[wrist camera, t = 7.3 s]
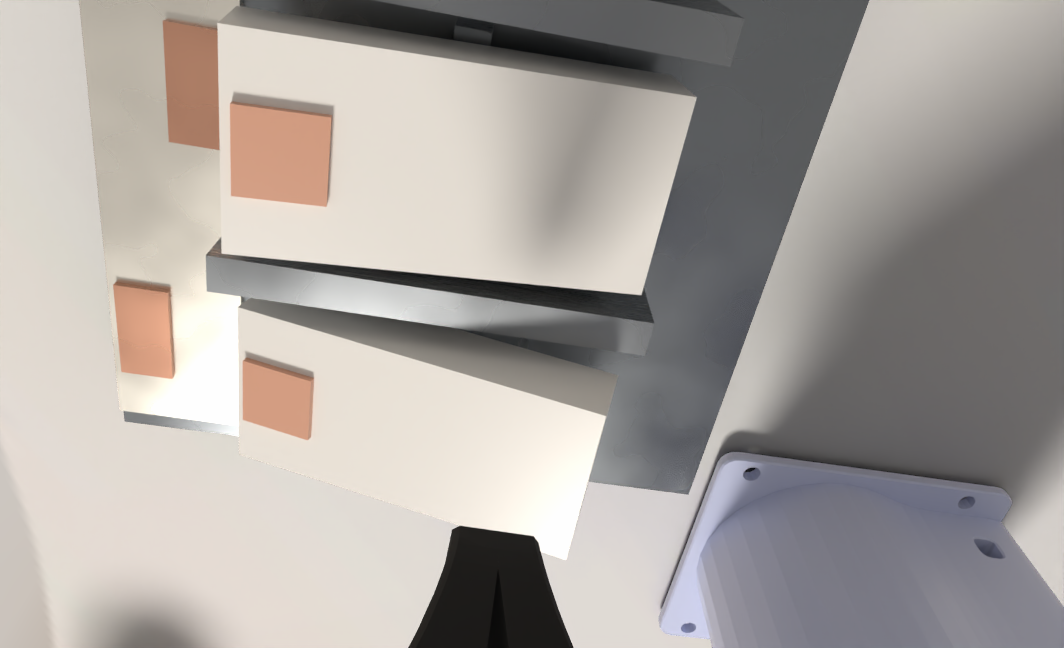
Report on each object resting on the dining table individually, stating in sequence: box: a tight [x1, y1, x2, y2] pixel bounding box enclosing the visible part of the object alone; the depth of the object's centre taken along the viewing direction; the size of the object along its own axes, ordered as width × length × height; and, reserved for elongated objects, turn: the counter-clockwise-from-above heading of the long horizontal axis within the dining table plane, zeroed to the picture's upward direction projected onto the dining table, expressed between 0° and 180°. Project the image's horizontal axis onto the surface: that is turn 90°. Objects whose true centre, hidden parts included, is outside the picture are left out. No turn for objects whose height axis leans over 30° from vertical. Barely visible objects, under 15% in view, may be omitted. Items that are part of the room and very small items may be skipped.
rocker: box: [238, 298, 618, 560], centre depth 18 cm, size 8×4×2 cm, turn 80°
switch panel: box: [79, 0, 869, 494], centre depth 17 cm, size 15×18×5 cm
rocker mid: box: [217, 6, 697, 295], centre depth 15 cm, size 8×4×2 cm, turn 80°
